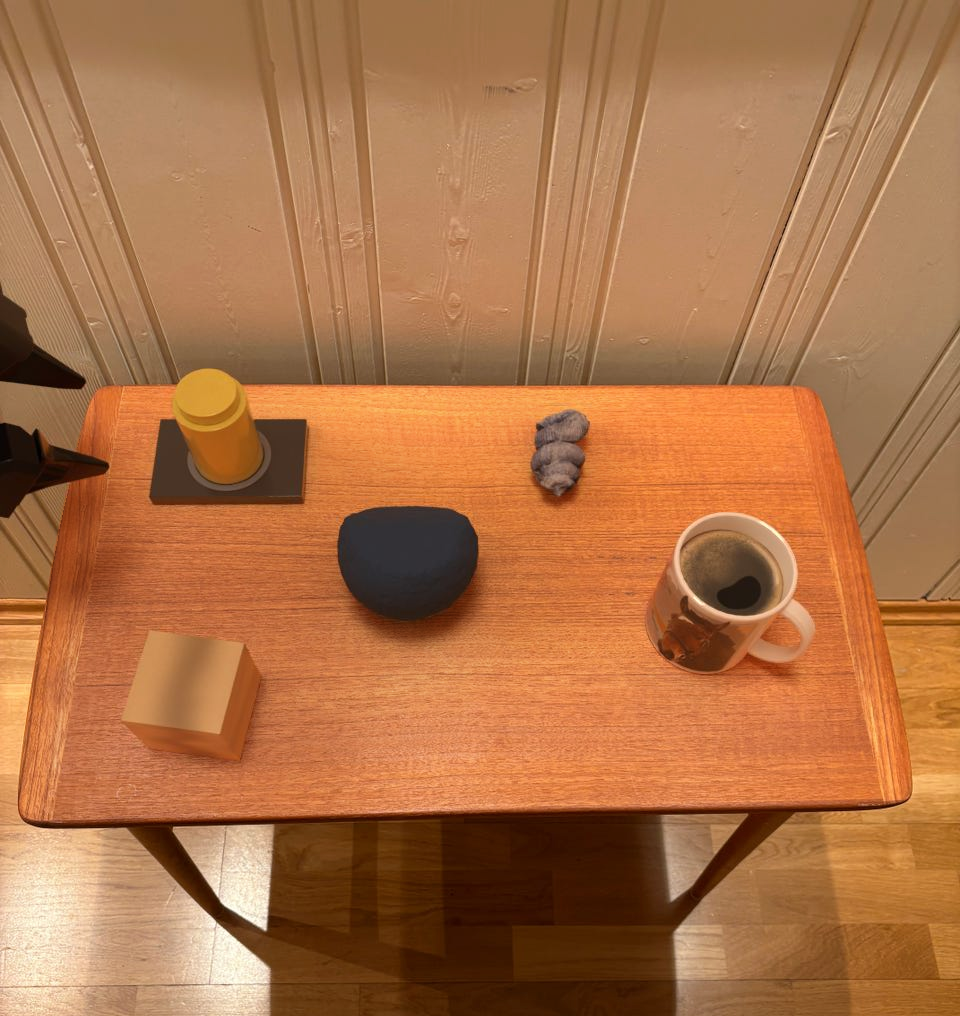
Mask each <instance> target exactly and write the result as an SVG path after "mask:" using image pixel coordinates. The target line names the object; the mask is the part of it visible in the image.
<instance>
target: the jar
mask: <svg viewBox="0 0 960 1016" xmlns="http://www.w3.org/2000/svg"><path fill="white" fill-rule="evenodd" d="M171 410H172V414H173V417H174V419H176V422H177V424H178V426H179V428H180V431H181V433H182V435H183V438H184V440H185V442H186V445H187V447H188V449H189V451H190V454H191V456H192V458H193V461H194V463H195V465H196V468H197V469H198V471H199V472H200V474H201V475H202V476H203V477H205V478H206V479H208V480H210V481H212V482H215V483H219V484H233V483H237V482H241V481H243V480H245V479H247V478H249V477H250V476H252V475H253V474H254V473H255V472H256V471H257V470H258V468H259V467H260V465H261V463H262V460H263V447H262V444H261V441H260V438H259V434H258V431H257V428H256V424H255V421H254V419H255V418H254V415H253V412H252V409H251V405H250V402H249V399H248V395H247V393H246V390H245V388H244V386H243V385H242V384H241V383H240V382H239V381H238V380H237V379H236V378H235V377H232V376H231V375H229V374H228V373H226V372H225V371H223V370H220V369H216V368H201V369H196V370H194V371H191V372H189V373H187V374H186V375H185V376H183V377H182V378H181V379H180V381H179V382H178V383H177V385H176V387H175V391H174V393H173V395H172V398H171Z"/></svg>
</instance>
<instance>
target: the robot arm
mask: <svg viewBox="0 0 960 1016" xmlns="http://www.w3.org/2000/svg"><path fill="white" fill-rule="evenodd" d="M27 318H28V314H27V312H26V310H25V308H23V307H22V306H20V305H19V304H17V303H16V302H15V301H14V300H12V299H10V298H9V297H7V296H6V295H5V294H4V291H3V287H2V282H0V382H1V383H11V384H18V385H20V384H21V385H26V386H27V385H28V386H35V387H42V388H52V389H59V390H79V391H80V390H83V388H84V387H85V385H86V384H87V380H86V377H84V376H83V375H81V374H80V373H78V372H77V371H76V370H74V369H73V368H72V367H70V366H68V365H67V364H65V363H63V362H62V361H60V359H58V358H56V357H55V356H53V355H51V354H50V353H48V352H47V351H46V350H44V349H43V348H42V347H40V346H39V345H37V343H35V342H34V338H33V336H32V335H31V333H30V330H29V326H28V321H27ZM109 469H110V463H109V462H108V461H105V460H103V459H100V458H97V457H95V456H92V455H89V454H85V453H81V452H78V451H74V450H70V449H67V448H64V447H59V446H56V445H52V444H50V443H49V442H48V441H47V439H46V438H45V437H44V435H43V434H42V433H41V431H40V429H38V428H37V427H35V429H34V430H33V432H32V433H31V434H30V432H28V431H27V430H26V429H24V428H23V427H22V426H20V425H18V424H17V425H16V424H13V423H9V422H5V420H4V417H3V413H2V407H0V518H4V519H10V517H11V516H12V515H13V513H14V512H15V510H16V509H17V507H19V506H20V505H21V503H22V502H23V500H24V499H25V497H26V496H27V495H29V494H33V493H36V492H39V491H42V490H44V489H48V488H51V487H55V486H59V485H63V484H67V483H72V482H76V481H81V480H86V479H89V478H94V477H98V476H102V475H105V474H106V473H107V472H108V471H109Z"/></svg>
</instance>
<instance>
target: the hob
mask: <svg viewBox="0 0 960 1016" xmlns="http://www.w3.org/2000/svg"><path fill="white" fill-rule="evenodd" d="M307 420H308V419H307V418H254V421H255V424H256V428H257V431H258V434H259V438H260V441H261V444H262V447H263V460H262V463H261V465H260V467H259V468H258V470H257V471H256V472H255V473H254V474H253V475H252V476H250V477H249V478H247V479H245V480H243V481H241V482H237V483H233V484H219V483H215V482H212V481H210V480H208V479H206V478H205V477H203V476H202V475H201V474H200V472H199V471H198V469H197V468H196V465H195V463H194V461H193V458H192V456H191V454H190V451H189V449H188V447H187V445H186V442H185V440H184V438H183V435H182V433H181V431H180V428H179V426H178V424H177V422H176V419H175V418H161V419H160V420H159V427H158V434H157V440H156V446H155V453H154V460H153V467H152V474H151V480H150V488H149V494H148V498H149V500H150V502H151V504H152V505H246V504H249V505H250V504H252V505H253V504H260V505H261V504H273V505H274V504H304V503H305V501H304V500H305V485H306V484H305V483H306V467H307V454H308V453H307V452H308V436H309V424H308V421H307Z"/></svg>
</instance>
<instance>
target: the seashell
mask: <svg viewBox="0 0 960 1016" xmlns="http://www.w3.org/2000/svg"><path fill="white" fill-rule="evenodd" d="M590 426H591V421H590V420H588V419H587V415H586V414H584V413H582V412H580V411H579V410H576V409H572V408H569V409H568V408H567V409H563V410H562V411H560V412H557V413H552V414H551V415H548V416H545V417H544V418H542V419H541V420H540V421H537V422H536V423H535V430H536V431H537V432H536V433H535V434H534V441H533V443H534V446H535V450H536V451H535V452H534V453H533V454H532V456H531V460H530V469H531V471H532V474H533V475H534V478H535V480H536V482H537V483H538V484H539V485H540V487H542V488H543V489H545V490H546V491H547V492H548V493H551V494H554V495H555V496H556V497H557V498H561V497H562V496H563V495H564V494H566V493H569V492H570V491H572V490H573V489H574V488H575V487H576V485H577V484H578V483H579V481H580V477H581V471H580V469H582V467H583V466H584V464H585V463H586V452H584V450H583V449H582V447H581V446H579V445H577V444H576V443H579V442H581V441H583V440H584V439H585V437H586V436H587V435H588V433H589V429H590Z"/></svg>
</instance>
